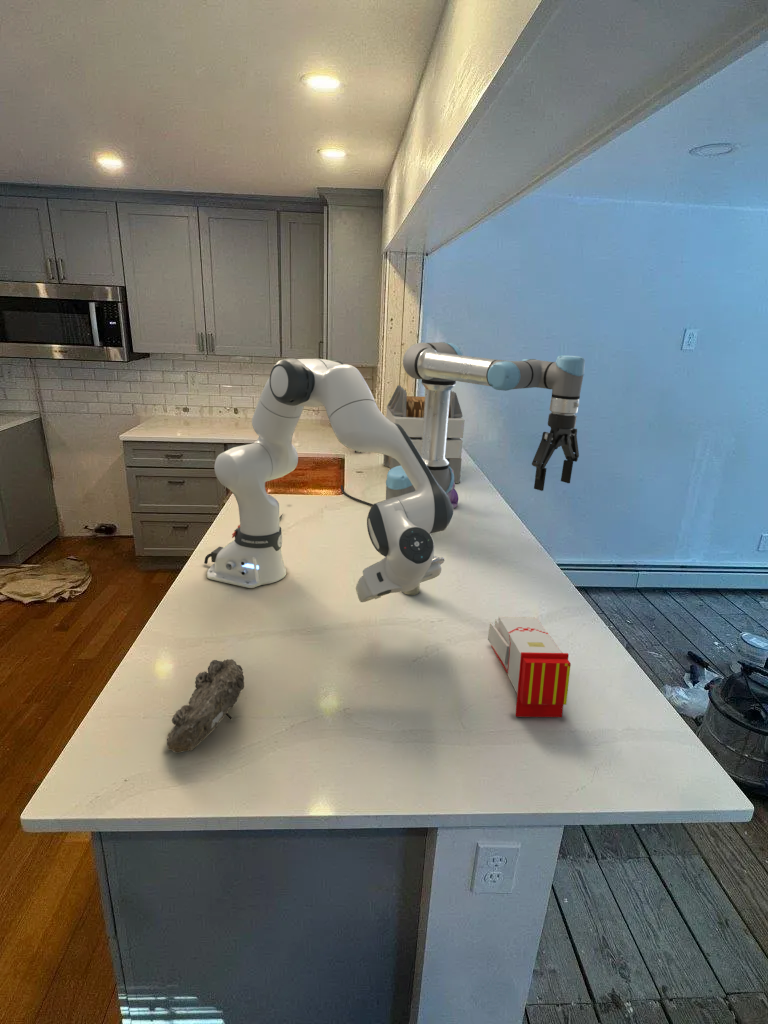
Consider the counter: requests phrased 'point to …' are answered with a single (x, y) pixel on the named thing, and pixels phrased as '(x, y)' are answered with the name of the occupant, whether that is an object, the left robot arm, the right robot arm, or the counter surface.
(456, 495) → the figurine
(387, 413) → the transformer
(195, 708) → the fossil
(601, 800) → the counter surface
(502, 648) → the toy
